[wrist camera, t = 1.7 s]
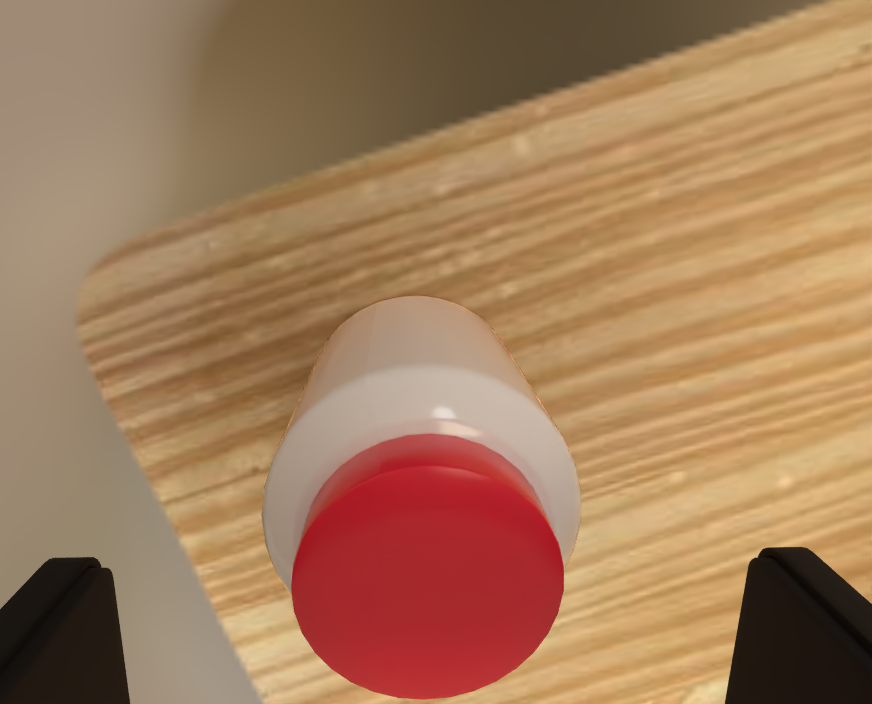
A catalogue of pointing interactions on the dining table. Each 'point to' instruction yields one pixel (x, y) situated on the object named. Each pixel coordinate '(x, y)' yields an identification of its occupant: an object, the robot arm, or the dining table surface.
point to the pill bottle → (421, 503)
